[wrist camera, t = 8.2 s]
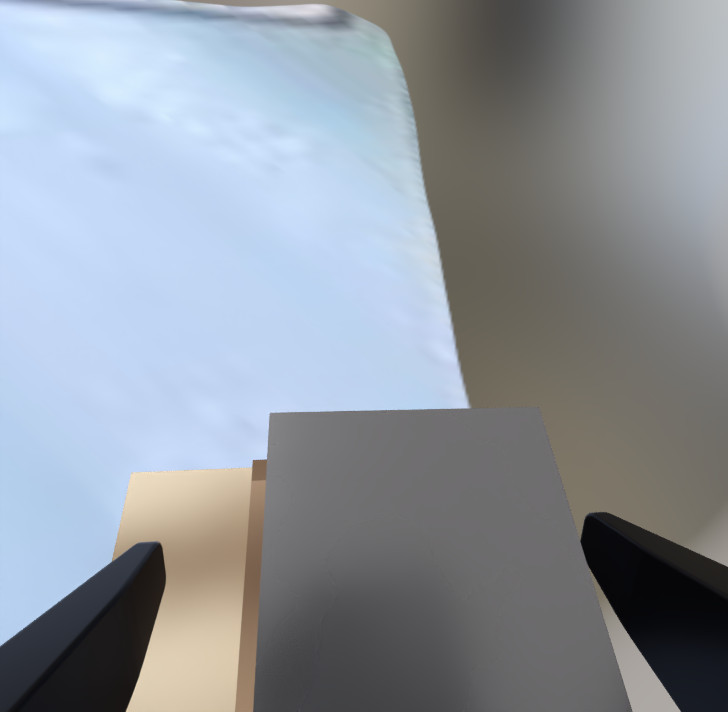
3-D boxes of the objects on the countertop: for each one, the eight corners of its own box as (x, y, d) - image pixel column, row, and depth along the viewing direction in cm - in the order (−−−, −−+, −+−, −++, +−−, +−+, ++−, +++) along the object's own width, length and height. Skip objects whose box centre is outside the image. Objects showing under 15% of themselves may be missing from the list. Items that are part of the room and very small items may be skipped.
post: (422, 641, 14) (652, 774, 4) (295, 654, 13) (245, 838, 4) (407, 508, 16) (538, 406, 7) (297, 514, 16) (270, 412, 6)
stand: (478, 702, 14) (525, 737, 11) (78, 752, 12) (-4, 812, 9) (439, 463, 18) (465, 438, 15) (137, 476, 16) (94, 451, 13)
